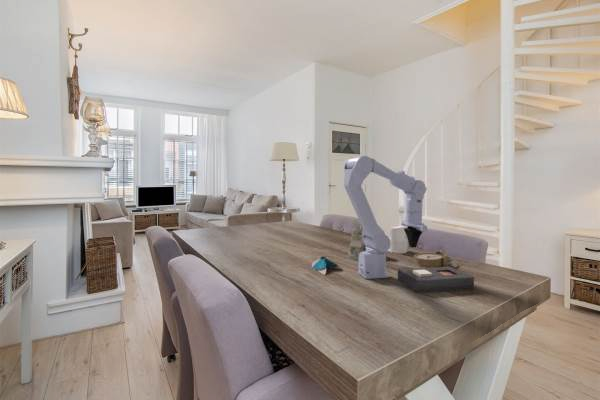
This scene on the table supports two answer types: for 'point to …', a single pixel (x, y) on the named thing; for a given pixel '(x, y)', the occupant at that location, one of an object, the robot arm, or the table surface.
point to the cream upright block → (398, 240)
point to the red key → (446, 273)
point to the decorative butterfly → (324, 265)
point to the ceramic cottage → (356, 245)
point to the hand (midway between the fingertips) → (412, 247)
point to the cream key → (422, 273)
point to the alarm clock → (432, 259)
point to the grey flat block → (436, 280)
